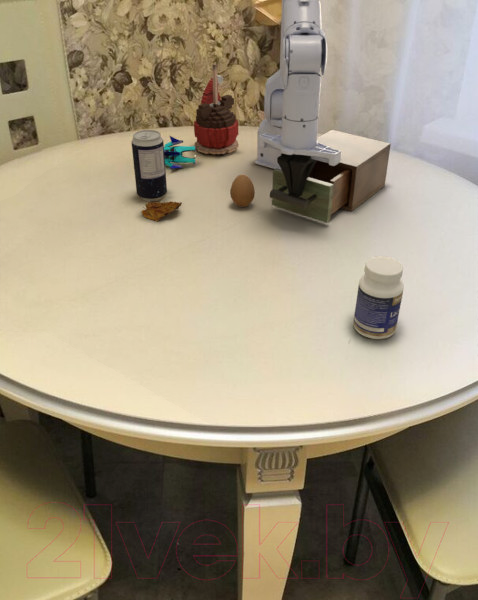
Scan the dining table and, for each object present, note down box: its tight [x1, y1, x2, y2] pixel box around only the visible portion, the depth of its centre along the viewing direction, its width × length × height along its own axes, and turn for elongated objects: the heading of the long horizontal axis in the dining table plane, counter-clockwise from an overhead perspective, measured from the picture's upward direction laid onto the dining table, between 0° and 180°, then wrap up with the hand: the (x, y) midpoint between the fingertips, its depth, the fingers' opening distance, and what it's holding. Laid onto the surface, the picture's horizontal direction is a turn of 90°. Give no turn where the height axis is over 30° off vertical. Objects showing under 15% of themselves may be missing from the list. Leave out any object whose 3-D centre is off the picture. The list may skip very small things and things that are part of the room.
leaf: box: [141, 201, 183, 222], centre depth 111 cm, size 6×7×2 cm
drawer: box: [269, 161, 352, 224], centre depth 109 cm, size 17×11×7 cm
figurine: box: [164, 135, 197, 170], centre depth 127 cm, size 7×6×12 cm
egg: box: [229, 174, 256, 208], centre depth 112 cm, size 4×4×6 cm
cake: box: [193, 63, 239, 155], centre depth 131 cm, size 11×9×18 cm
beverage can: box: [130, 129, 168, 202], centre depth 113 cm, size 6×6×12 cm
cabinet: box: [317, 129, 392, 212], centre depth 116 cm, size 14×13×9 cm
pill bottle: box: [352, 255, 404, 340], centre depth 80 cm, size 6×6×10 cm
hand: (295, 195), depth 105 cm, fingers closed, pressing on drawer
